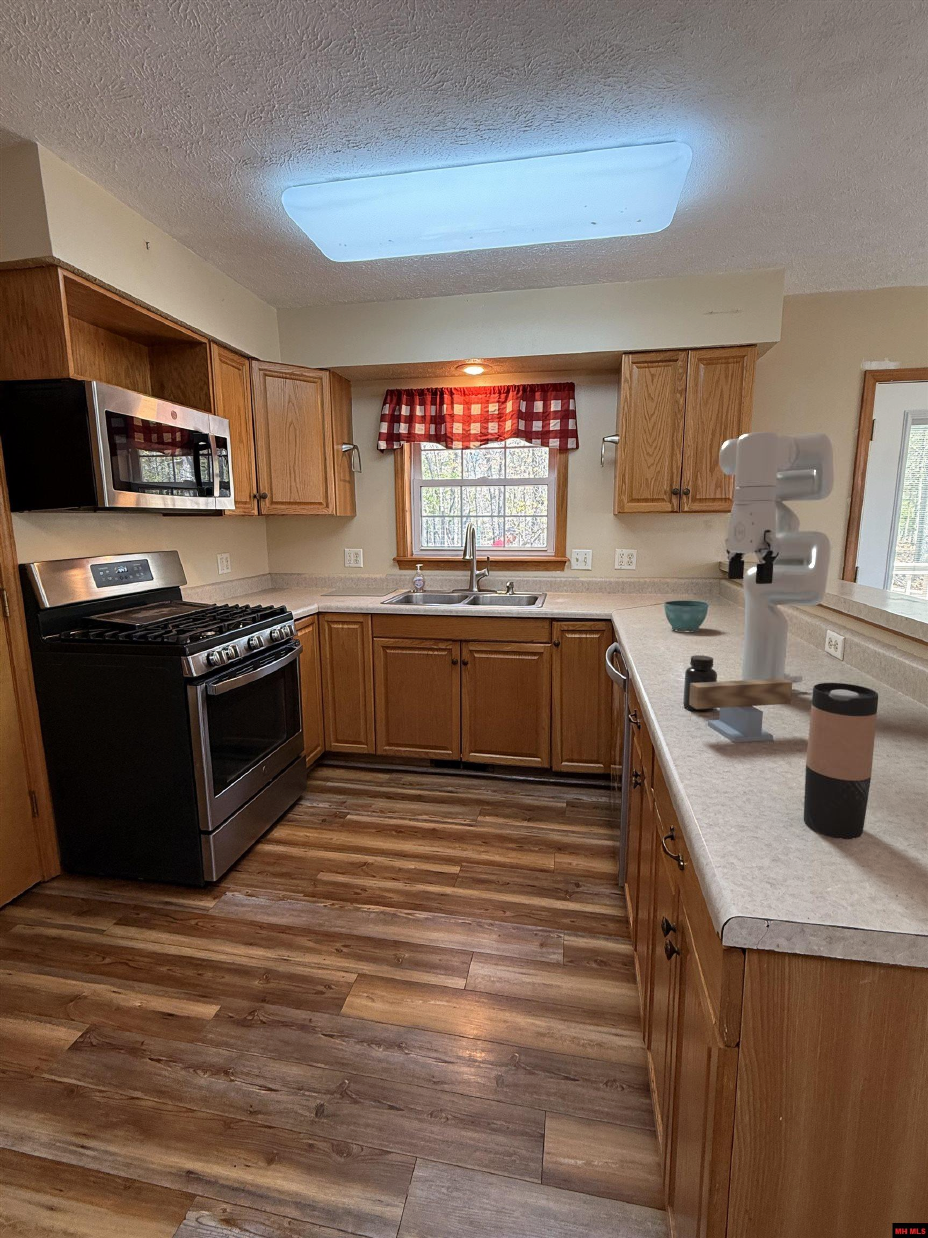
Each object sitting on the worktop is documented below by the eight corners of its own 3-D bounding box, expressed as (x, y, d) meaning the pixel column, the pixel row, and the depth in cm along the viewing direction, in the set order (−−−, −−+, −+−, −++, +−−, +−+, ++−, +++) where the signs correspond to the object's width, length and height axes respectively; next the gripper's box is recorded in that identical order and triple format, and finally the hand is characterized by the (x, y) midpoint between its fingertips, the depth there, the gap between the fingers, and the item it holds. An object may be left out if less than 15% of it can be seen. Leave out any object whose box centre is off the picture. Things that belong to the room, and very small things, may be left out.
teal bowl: (663, 633, 220) (664, 605, 218) (662, 626, 235) (663, 599, 234) (709, 635, 216) (710, 606, 214) (705, 627, 231) (706, 600, 229)
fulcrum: (743, 723, 123) (744, 695, 122) (772, 740, 114) (774, 711, 113) (707, 725, 123) (709, 697, 122) (734, 742, 113) (736, 713, 112)
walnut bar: (781, 699, 120) (782, 678, 119) (790, 703, 117) (792, 682, 116) (689, 704, 118) (690, 683, 117) (696, 709, 115) (697, 687, 114)
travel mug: (840, 811, 86) (852, 681, 82) (878, 839, 78) (894, 697, 75) (790, 813, 86) (800, 683, 82) (823, 841, 78) (836, 699, 75)
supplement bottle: (695, 714, 130) (698, 662, 128) (677, 705, 136) (679, 655, 134) (721, 710, 131) (724, 659, 129) (702, 702, 138) (704, 653, 136)
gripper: (713, 498, 125) (709, 577, 127) (763, 494, 108) (757, 586, 110) (746, 498, 125) (741, 576, 128) (800, 494, 108) (794, 585, 111)
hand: (749, 581), depth 119 cm, fingers open, 9 cm apart
